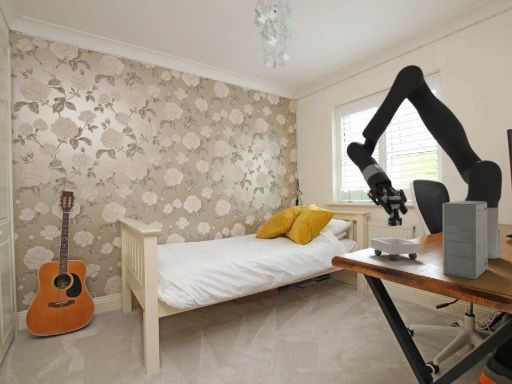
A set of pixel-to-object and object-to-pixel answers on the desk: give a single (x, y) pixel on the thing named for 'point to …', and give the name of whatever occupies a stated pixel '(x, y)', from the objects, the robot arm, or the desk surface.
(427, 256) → the desk surface
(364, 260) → the desk surface
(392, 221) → the push button
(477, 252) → the hard drive box
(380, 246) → the parts trolley
